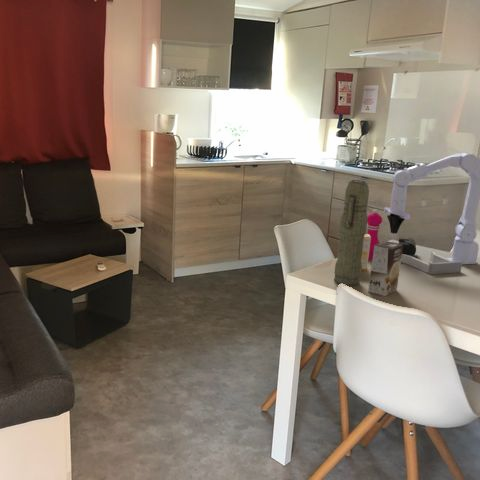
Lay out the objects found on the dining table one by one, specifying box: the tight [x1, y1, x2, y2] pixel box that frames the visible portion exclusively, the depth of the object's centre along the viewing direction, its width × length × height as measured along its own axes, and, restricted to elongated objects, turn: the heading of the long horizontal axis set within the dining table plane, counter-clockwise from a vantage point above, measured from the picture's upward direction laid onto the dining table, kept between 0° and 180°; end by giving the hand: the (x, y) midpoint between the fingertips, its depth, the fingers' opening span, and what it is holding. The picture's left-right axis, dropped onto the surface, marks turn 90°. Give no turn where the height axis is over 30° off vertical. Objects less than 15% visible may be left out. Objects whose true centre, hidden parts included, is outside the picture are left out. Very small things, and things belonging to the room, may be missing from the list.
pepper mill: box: [366, 209, 383, 261], centre depth 215 cm, size 7×7×20 cm
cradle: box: [401, 251, 463, 275], centre depth 211 cm, size 18×17×4 cm
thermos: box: [333, 179, 370, 287], centre depth 182 cm, size 9×12×35 cm
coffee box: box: [367, 240, 403, 297], centre depth 178 cm, size 9×6×16 cm
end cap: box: [398, 237, 417, 257], centre depth 224 cm, size 10×7×7 cm
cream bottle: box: [361, 233, 371, 271], centre depth 201 cm, size 8×5×13 cm, turn 84°
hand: (393, 233), depth 222 cm, fingers closed
